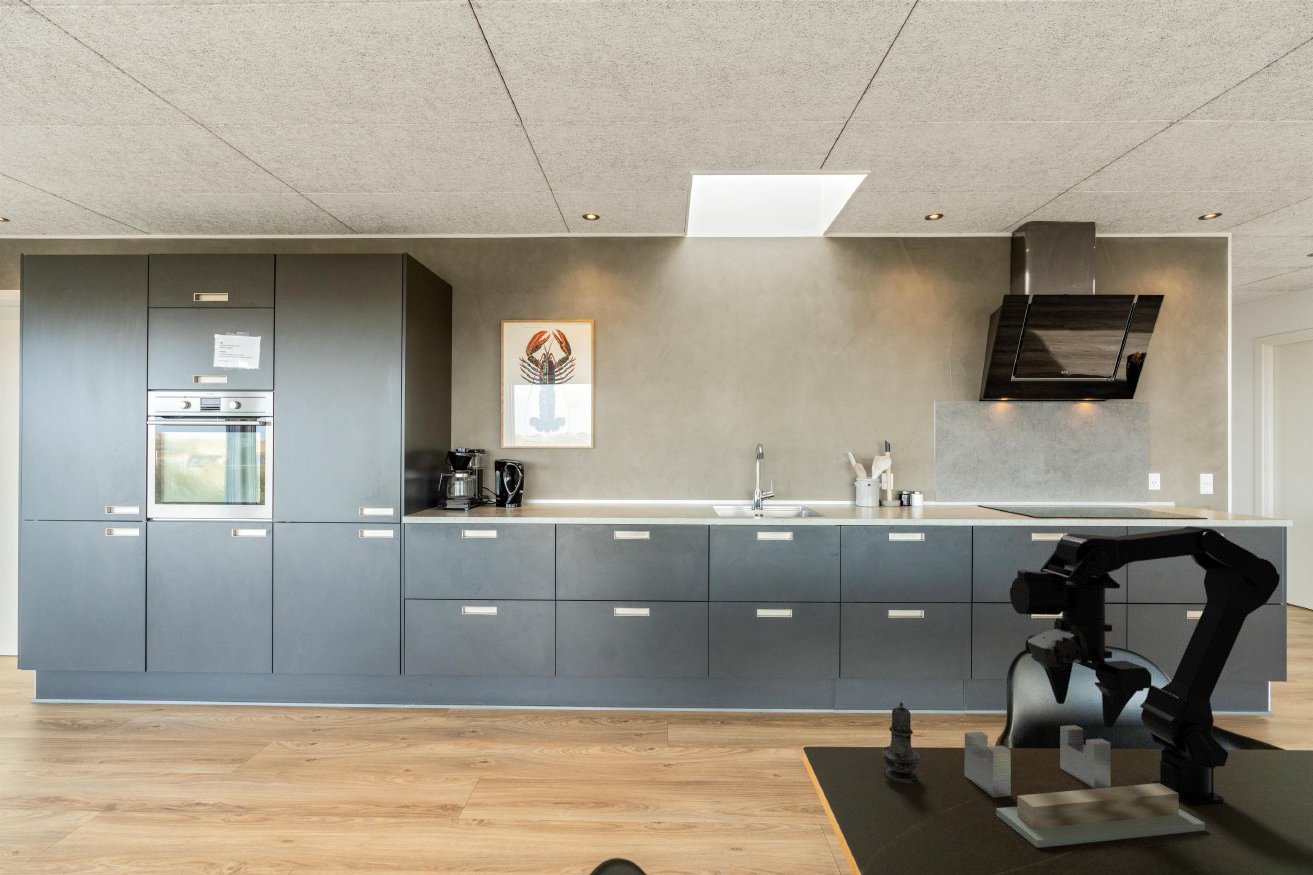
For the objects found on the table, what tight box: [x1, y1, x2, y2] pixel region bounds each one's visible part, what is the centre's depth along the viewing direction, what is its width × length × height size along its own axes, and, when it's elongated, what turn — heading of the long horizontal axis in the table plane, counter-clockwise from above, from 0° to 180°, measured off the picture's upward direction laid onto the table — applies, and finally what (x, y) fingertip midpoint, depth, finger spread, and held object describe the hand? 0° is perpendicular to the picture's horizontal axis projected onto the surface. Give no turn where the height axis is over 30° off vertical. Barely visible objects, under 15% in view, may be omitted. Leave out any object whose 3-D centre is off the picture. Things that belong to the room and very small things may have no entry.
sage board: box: [995, 806, 1206, 849], centre depth 94 cm, size 27×8×1 cm, turn 100°
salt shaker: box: [881, 701, 921, 784], centre depth 107 cm, size 6×6×12 cm
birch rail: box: [1016, 783, 1180, 829], centre depth 94 cm, size 24×3×3 cm, turn 100°
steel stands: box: [964, 724, 1112, 798], centre depth 106 cm, size 21×7×7 cm, turn 100°
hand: (1083, 714), depth 103 cm, fingers open, 9 cm apart
